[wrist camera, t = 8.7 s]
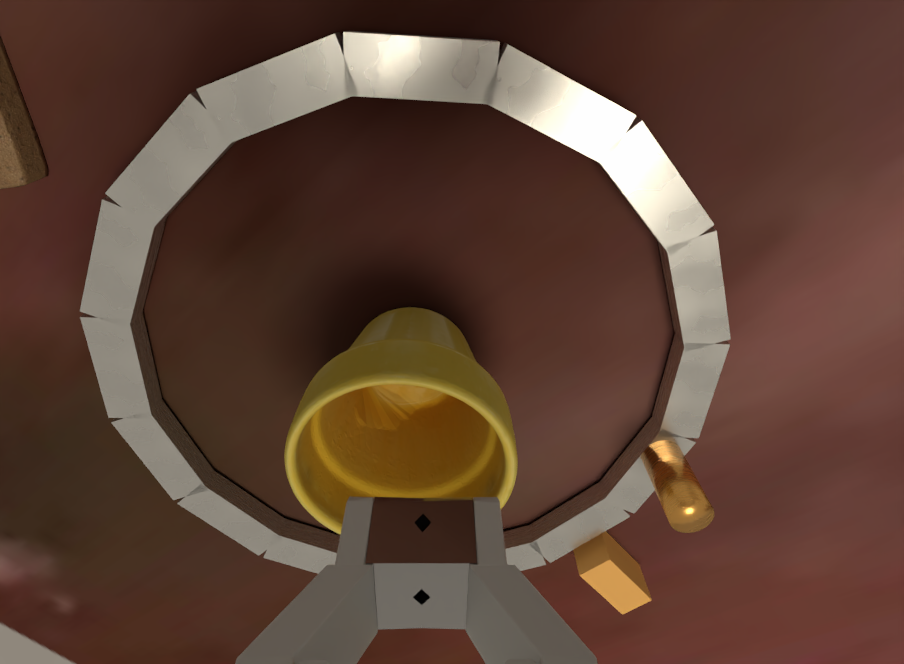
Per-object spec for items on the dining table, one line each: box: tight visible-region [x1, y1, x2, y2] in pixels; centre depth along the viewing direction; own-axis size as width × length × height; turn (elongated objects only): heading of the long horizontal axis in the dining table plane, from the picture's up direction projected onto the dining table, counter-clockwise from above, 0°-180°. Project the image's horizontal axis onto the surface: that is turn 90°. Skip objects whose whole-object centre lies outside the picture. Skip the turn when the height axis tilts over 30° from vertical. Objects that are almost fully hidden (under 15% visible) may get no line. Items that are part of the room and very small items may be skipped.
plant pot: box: [284, 307, 518, 534], centre depth 30 cm, size 10×10×10 cm
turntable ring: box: [80, 31, 731, 574], centre depth 32 cm, size 35×35×6 cm
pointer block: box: [574, 531, 652, 615], centre depth 41 cm, size 6×2×3 cm, turn 40°
